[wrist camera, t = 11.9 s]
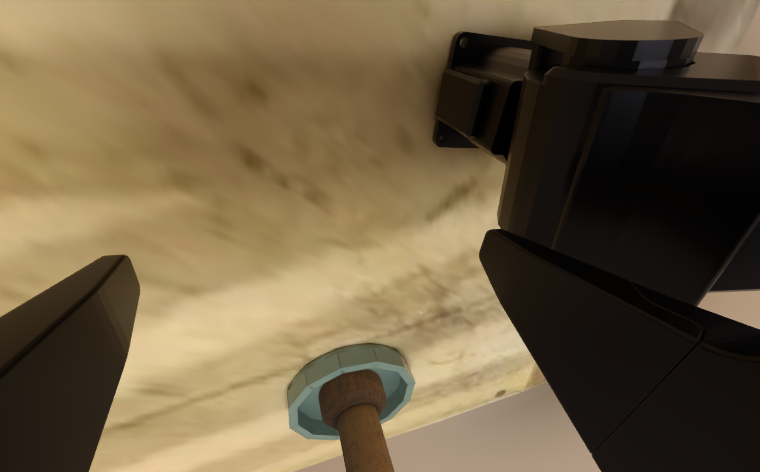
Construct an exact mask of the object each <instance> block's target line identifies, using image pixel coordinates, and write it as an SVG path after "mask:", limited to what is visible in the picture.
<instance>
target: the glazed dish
mask: <svg viewBox="0 0 760 472" xmlns="http://www.w3.org/2000/svg"><path fill="white" fill-rule="evenodd" d="M363 369H368V370H371V371H374V372H375V373H377V374H378V375H379V376H380V378H381V381H382V384H383V388H384V391H385V394H386V398H387V402H386V406H385V408H384V409H383V411H382V413H381V414H380V416H379V420H380V424H382V423H384V422H386V421H388V420H390V419H391V418H393V417H394V416H395V415H396V414H397V413H398V412H399V411H400V410H401V409H402V408H403V407H404V406H405V405H406V404H407V403H408V402H409V401H410V398H411V395H412V392H413V388H414V385H415V380H414V378H413V375H412V373H411V370H410V368H409V367H408V365H407V364H406V362H405V360H404V358H403V356H402V355H401V354H400V353H399V352H398V351H396V350H395V349H393V348H391V347H388V346H384V345H379V344H358V345H352V346H347V347H343V348H340V349H336V350H334V351H331V352H329V353H326V354H324V355H322V356H320V357H319V358H317V359H315V360H313V361H312V362H311V363H309V364H308V365H306V366H305V367H304V368H303V369H302V370H301V371H300V372H299V373H298V374H297V375H296V376H295V378H294V379H293V381H292V382H291V384H290V386H289V390H288V393H287V395H288V412H289V426H290V429H292V430H294V431H295V432H297V433H299V434H300V435H302V436H303V437H305V438H307V439H319V440H338V439H340V436H339V431H338V430H335V429H334V428H332V427H330V426H328V425H326V424H325V423H324V422H323V420H322V416H321V410H320V404H319V392H320V389H321V388H322V386H323V385H324V384H325V383H326V382H327V381H329V380H331V379H333V378H335V377H337V376H339V375H341V374H342V373H347V372H352V371H358V370H363Z"/></svg>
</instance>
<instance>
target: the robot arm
mask: <svg viewBox="0 0 760 472" xmlns="http://www.w3.org/2000/svg"><path fill="white" fill-rule="evenodd" d="M703 36H704V35H703V33H701V32H699V31H697V30H695V29H693V28H691V27H689V26H687V25H685V24H683V23H681V22H679V21H642V20H619V21H606V22H593V23H581V24H568V25H555V26H542V27H534V29H533V34H532V39H531V41H527V40H519V39H512V38H505V37H498V36H491V35H484V34H477V33H470V32H459V33H457V34H456V35H455V36H454V39H453V42H452V47H451V52H450V57H449V62H448V66H447V70H446V71H445V72H444V74H443V79H442V84H441V89H440V94H439V99H438V104H437V109H436V114H435V115H436V117H437V121H436V126H435V131H434V135H433V142H434V143H435V144H436V145H437V146H438V147H451V148H481V149H482V150H484V151H485V152H487V153H488V154H490V155H492V156H493V157H495V158H496V159H498V160H499V161H501V162H502V163H504V164H505V165H506V170H505V175H504V181H503V186H502V191H501V196H500V202H499V207H498V212H497V217H498V225H499V226H500V228H501V229H492V230H489V231H487V232H486V234H485V237H484V240H483V243H482V246H481V249H480V252H479V258H480V262H481V264H482V266H483V268H484V270H485V272H486V274H487V276H488V278H489V281H490V283H491V285H492V287H493V289H494V291H495V293H496V295H497V297H498V299H499V301H500V303H501V305H502V307H503V309H504V310H505V312H506V314H507V315H508V317H509V319H510V320H511V322H512V324H513V325H514V327H515V328H516V330H517V332H518V333H519V335H520V337H521V338H522V340H523V342H524V343H525V345H526V347H527V348H528V350H529V352H530V353H531V355H532V357H533V358H534V360H535V362H536V363H537V365H538V367H539V368H540V370H541V372H542V373H543V375H544V377H545V378H546V380H547V382H548V383H549V385H550V387H551V388H552V390H553V391H554V393H555V395H556V396H557V398H558V400H559V402H560V403H561V405H562V406H563V408H564V410H565V412H566V413H567V415H568V417H569V418H570V420H571V422H572V423H573V425H574V427H575V428H576V430H577V431H578V433H579V435H580V437H581V438H582V440H583V441H584V443H585V445H586V446H587V448H588V450H589V452H590V453H592V457H593V459H594V460H595V462H596V464H597V465H598V467H599V469H600V470H601V472H760V329H757V328H754V327H751V326H748V325H746V324H743V323H740V322H737V321H735V320H732V319H729V318H726V317H723V316H721V315H718V314H715V313H712V312H710V311H707V310H704V309H701V308H699V307H697V306H698V305H699V303H700V302H701V301H702V299H703V298H704V297H705V295H706V294H707V293H711V292H734V291H756V290H760V57H759V56H752V55H736V54H718V53H700V52H696V51H697V49H698V47H699V45H700V43H701V40H702V38H703ZM462 38H464V40H465V41H464V45H463V46H462V47H461V46H460V40H461V39H462ZM441 136H443V140H442V141H440V142H439V138H440V137H441ZM139 296H140V285H139V282H138V279H137V276H136V274H135V271H134V268H133V265H132V263H131V260H130V258H129V257H128V256H126V255H109V256H103V257H101V258H99V259H97V260H96V261H94V262H92V263H90V264H89V265H87V266H85V267H84V268H82V269H80V270H79V271H77V272H75V273H74V274H72V275H70V276H69V277H67V278H65V279H64V280H62V281H60V282H59V283H57V284H55V285H54V286H52V287H50V288H49V289H47V290H45V291H43V292H42V293H40V294H38V295H37V296H35V297H33V298H32V299H30V300H28V301H27V302H25V303H23V304H22V305H20V306H18V307H17V308H15V309H13V310H12V311H10V312H8V313H7V314H5V315H3V316H1V317H0V472H89V470H90V467H91V464H92V461H93V458H94V455H95V452H96V449H97V446H98V443H99V440H100V437H101V434H102V431H103V428H104V425H105V422H106V419H107V416H108V413H109V410H110V407H111V404H112V401H113V398H114V396H115V393H116V390H117V387H118V384H119V381H120V378H121V375H122V372H123V369H124V366H125V362H126V359H127V356H128V351H129V347H130V342H131V337H132V332H133V326H134V321H135V316H136V311H137V306H138V301H139Z"/></svg>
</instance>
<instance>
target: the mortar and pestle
mask: <svg viewBox="0 0 760 472" xmlns="http://www.w3.org/2000/svg"><path fill="white" fill-rule="evenodd" d="M386 402H387V398H386V394H385V391H384V388H383V384H382V381H381V378H380V376H379V375H378V374H377V373H375V372H374V371H371V370H368V369H363V370H358V371H352V372H347V373H342V374H341V375H339V376H337V377H335V378H333V379H331V380H329V381H327V382H326V383H325V384H324V385H323V386H322V388H321V389H320V392H319V404H320V410H321V416H322V420H323V422H324V423H325V424H326V425H328V426H330V427H332V428H334V429H335V430H338V431H339V436H340V441H341V446H342V451H343V456H344V462H345V467H346V472H394V469H393V465H392V462H391V459H390V455H389V452H388V448H387V445H386V441H385V438H384V434H383V431H382V427H381V424H380V420H379V416H380V414H381V413H382V411H383V409H384V408H385V406H386Z"/></svg>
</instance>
